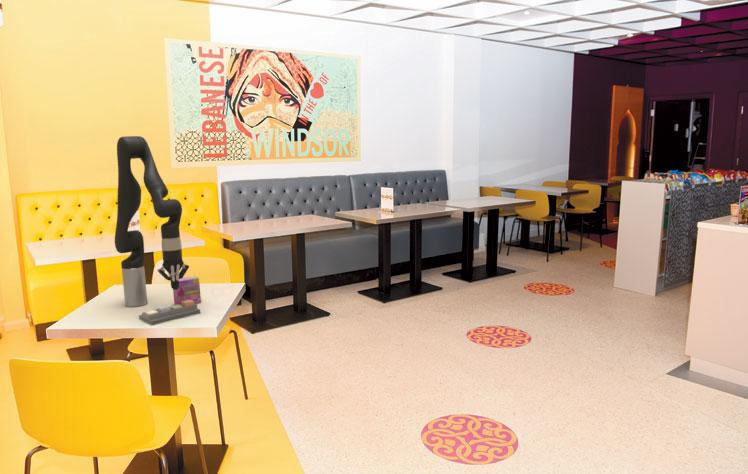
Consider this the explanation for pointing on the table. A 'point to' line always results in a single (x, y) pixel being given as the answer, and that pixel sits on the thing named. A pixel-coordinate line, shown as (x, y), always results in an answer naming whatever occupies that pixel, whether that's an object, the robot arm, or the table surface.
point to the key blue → (163, 308)
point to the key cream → (151, 312)
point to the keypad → (169, 314)
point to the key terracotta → (187, 303)
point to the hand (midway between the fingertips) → (175, 289)
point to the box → (187, 290)
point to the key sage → (176, 307)
